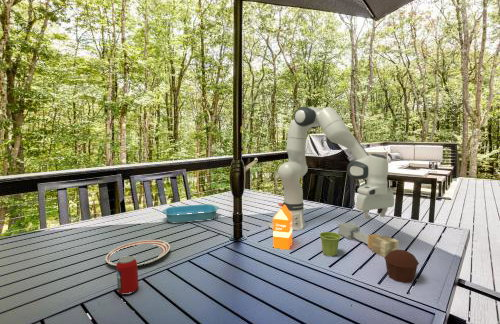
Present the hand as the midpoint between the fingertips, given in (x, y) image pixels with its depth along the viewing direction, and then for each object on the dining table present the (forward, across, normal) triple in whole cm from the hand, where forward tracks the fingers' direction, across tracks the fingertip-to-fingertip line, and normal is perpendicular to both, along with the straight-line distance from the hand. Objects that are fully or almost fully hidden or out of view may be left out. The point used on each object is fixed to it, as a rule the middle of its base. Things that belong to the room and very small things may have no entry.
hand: (375, 217), depth 132 cm
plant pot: (+16, +22, -4) cm, 28 cm away
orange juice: (+16, +38, -20) cm, 46 cm away
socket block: (+15, 0, +6) cm, 16 cm away
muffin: (+15, +12, +24) cm, 31 cm away
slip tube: (+15, 0, -4) cm, 15 cm away
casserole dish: (+18, +71, -86) cm, 113 cm away
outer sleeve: (+15, 0, -17) cm, 23 cm away
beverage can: (+17, +108, -7) cm, 109 cm away
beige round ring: (+18, +104, -36) cm, 111 cm away
